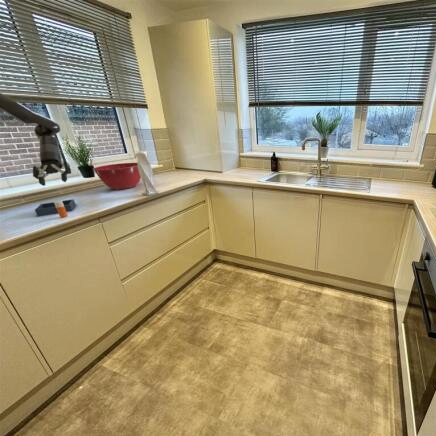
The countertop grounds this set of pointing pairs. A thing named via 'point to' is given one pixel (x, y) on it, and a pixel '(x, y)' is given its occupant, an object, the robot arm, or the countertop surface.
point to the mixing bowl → (119, 175)
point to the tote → (54, 208)
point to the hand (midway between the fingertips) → (53, 183)
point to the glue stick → (61, 209)
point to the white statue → (146, 173)
